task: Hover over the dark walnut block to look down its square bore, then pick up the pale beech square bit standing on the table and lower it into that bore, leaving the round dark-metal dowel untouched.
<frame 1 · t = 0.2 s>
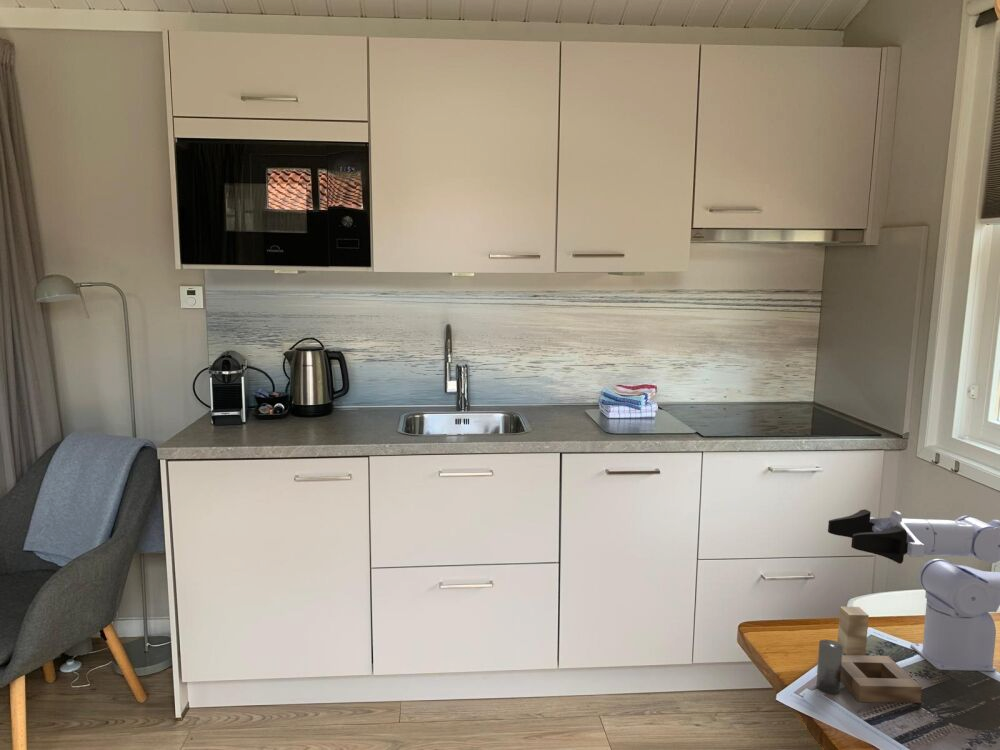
hand: (840, 533, 113), 21 cm above the table, fingers open, 7 cm apart
square bit: (851, 650, 118), on the table
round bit: (827, 688, 106), on the table
bore block: (873, 685, 107), on the table
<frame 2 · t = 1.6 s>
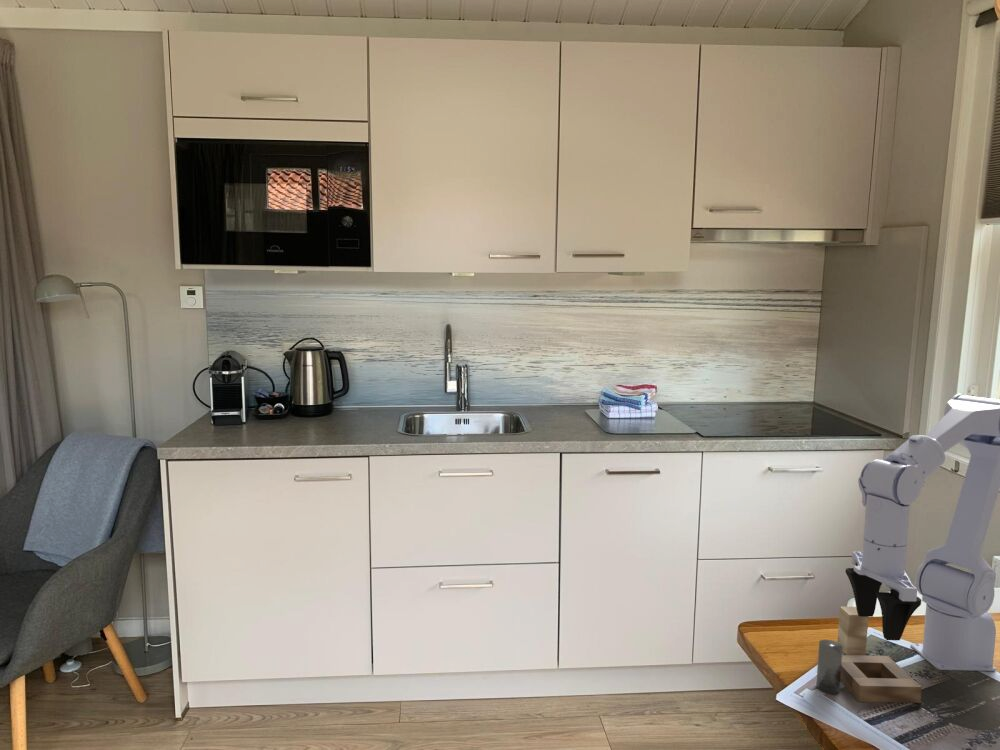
hand: (878, 627, 106), 9 cm above the table, fingers open, 7 cm apart
nothing on the table moved.
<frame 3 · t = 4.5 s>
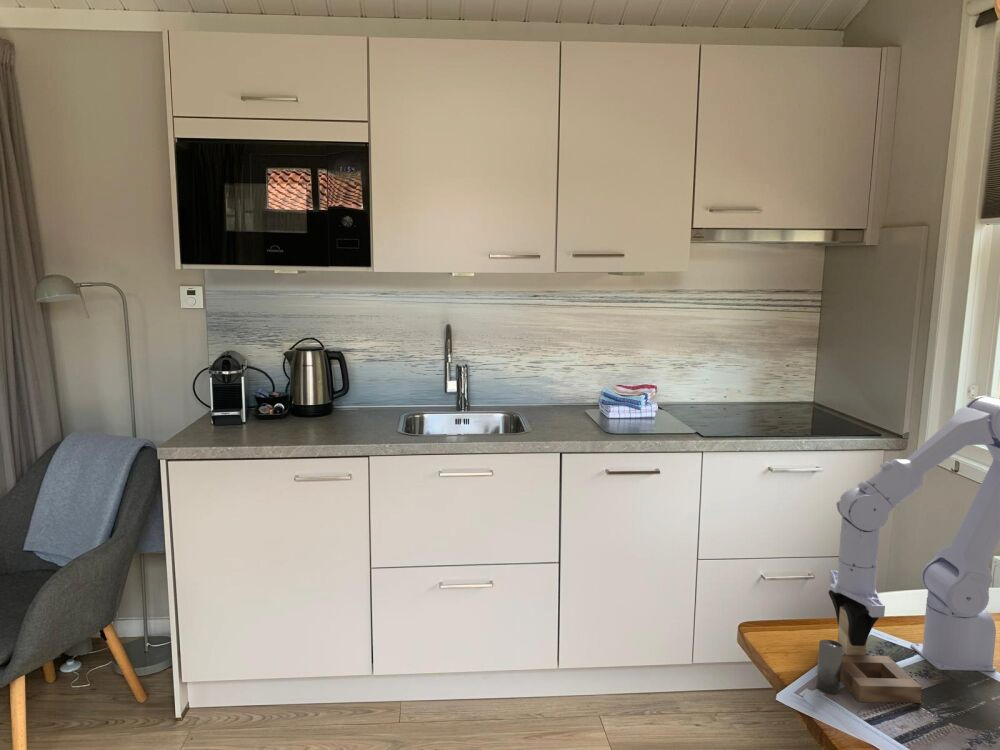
hand: (851, 639, 118), 2 cm above the table, fingers closed on square bit, 3 cm apart
square bit: (851, 650, 118), on the table, touching gripper
everything else where it was.
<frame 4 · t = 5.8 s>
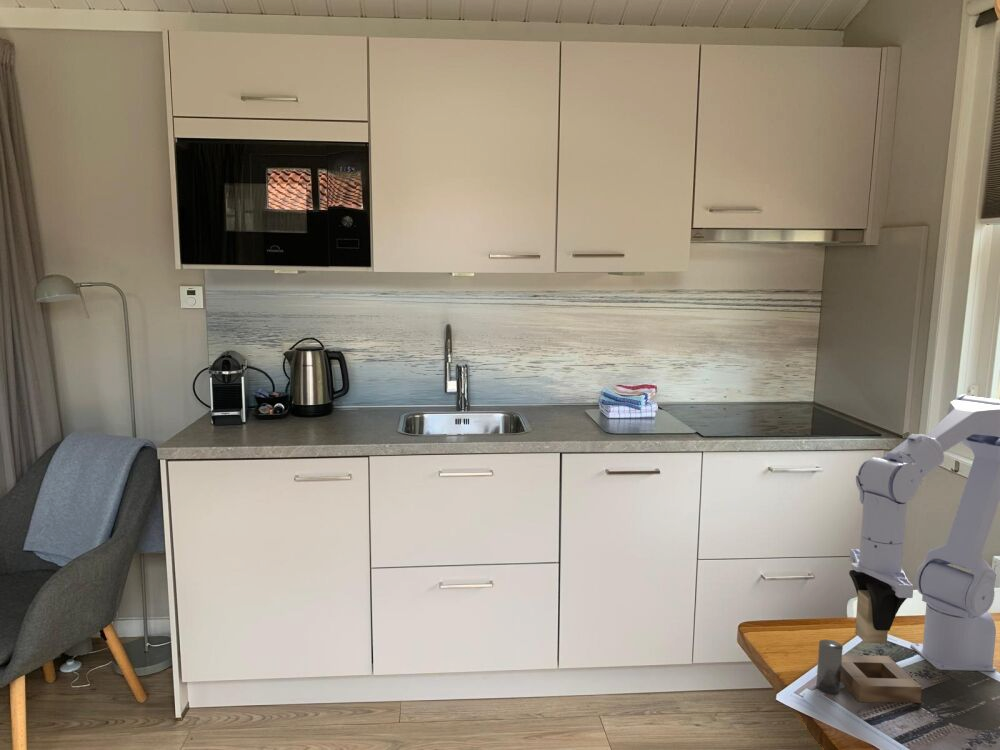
hand: (875, 623, 107), 9 cm above the table, fingers closed on square bit, 3 cm apart
square bit: (870, 638, 107), point 7 cm above the table, touching gripper
everything else where it was.
when the fingers open (4 cm above the table, at t = 7.6 s): square bit drops 1 cm, resting in bore block.
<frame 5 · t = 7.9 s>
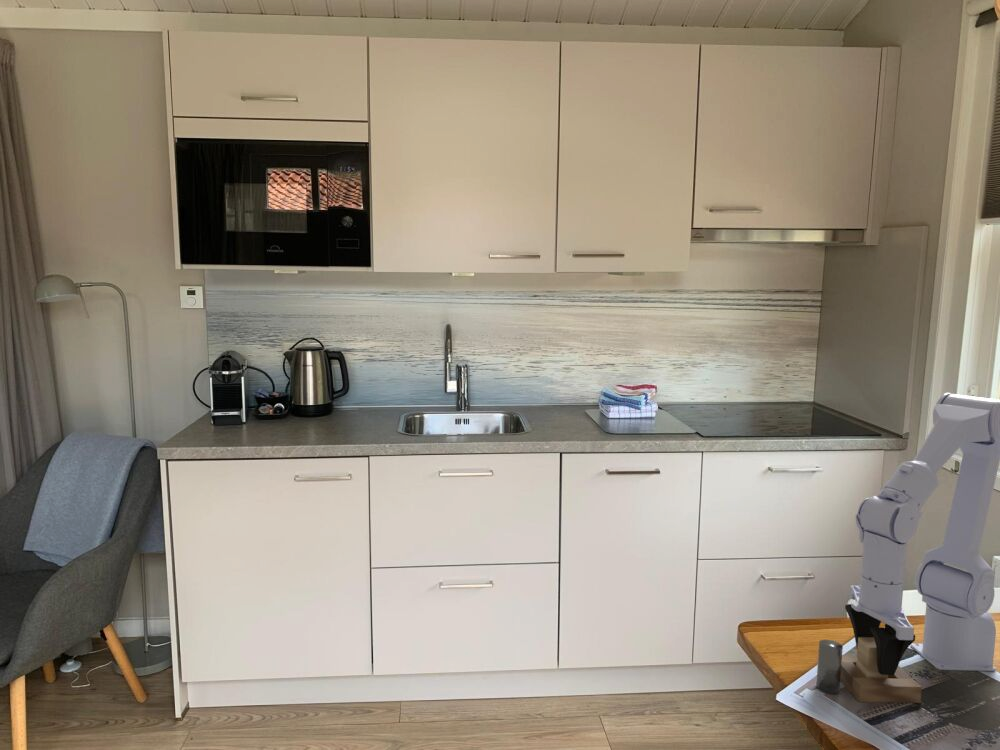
hand: (875, 662, 107), 4 cm above the table, fingers open, 6 cm apart
square bit: (870, 685, 107), resting in bore block
everything else where it was.
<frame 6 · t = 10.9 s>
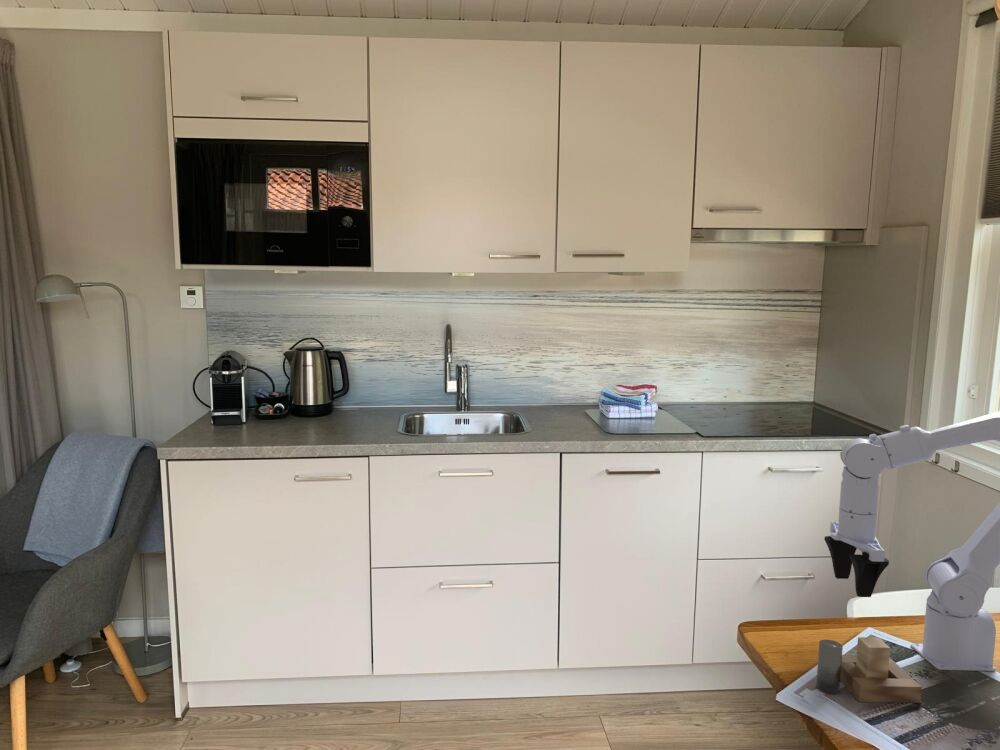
hand: (852, 586, 120), 10 cm above the table, fingers open, 7 cm apart
nothing on the table moved.
at the end: square bit 0.5 cm off-centre on the bore block, point 0.0 cm above the bore block's base; square bit tilted 0°; the gripper is holding nothing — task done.
